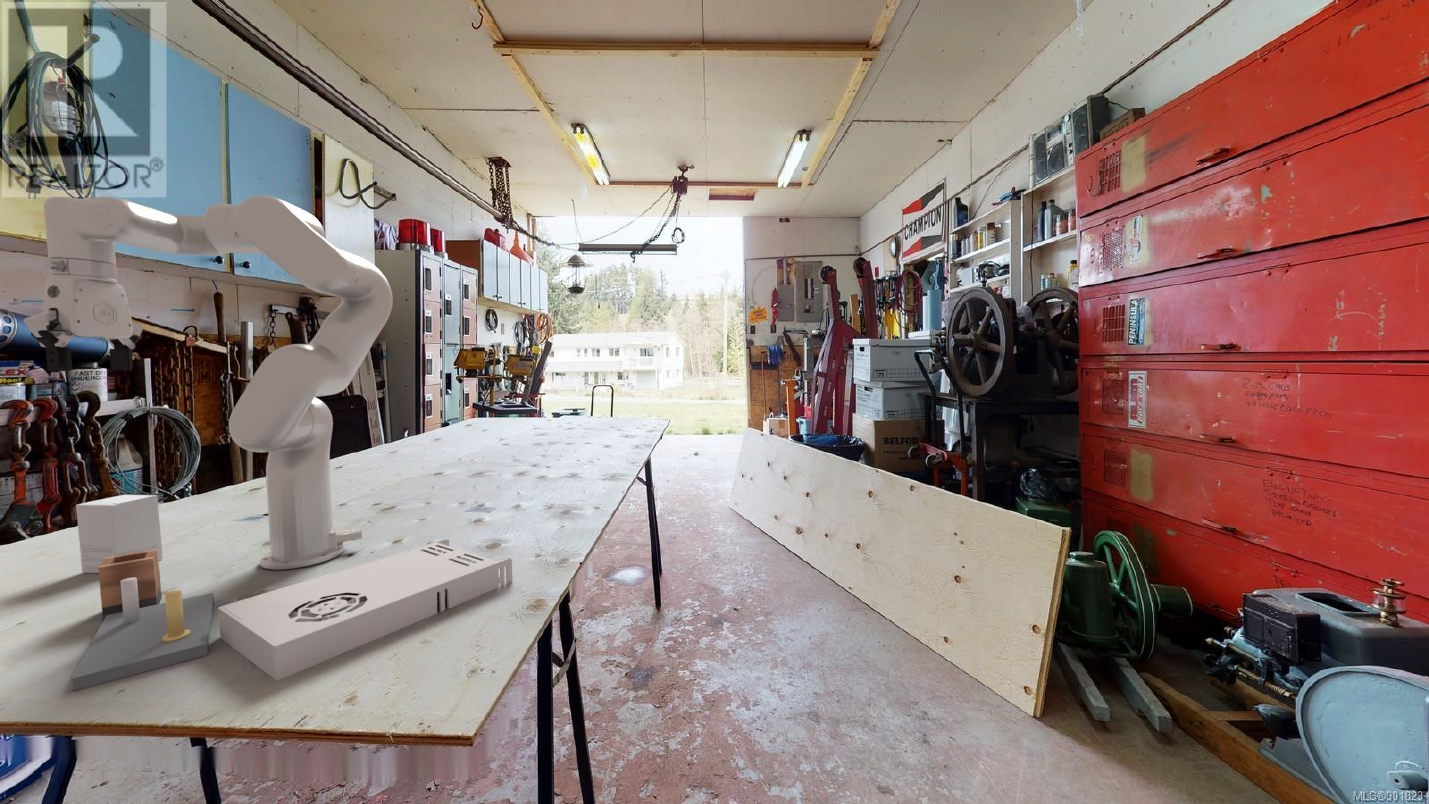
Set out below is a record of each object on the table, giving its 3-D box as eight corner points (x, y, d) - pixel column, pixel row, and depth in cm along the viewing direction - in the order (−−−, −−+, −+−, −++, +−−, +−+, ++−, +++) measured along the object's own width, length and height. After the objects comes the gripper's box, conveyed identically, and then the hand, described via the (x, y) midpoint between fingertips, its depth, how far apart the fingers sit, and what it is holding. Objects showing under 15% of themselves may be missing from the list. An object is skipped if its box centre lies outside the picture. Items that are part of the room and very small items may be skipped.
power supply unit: (512, 585, 89) (512, 557, 89) (277, 687, 61) (274, 646, 61) (448, 563, 99) (447, 538, 98) (219, 642, 71) (217, 607, 70)
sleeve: (161, 597, 82) (157, 548, 82) (157, 609, 78) (153, 558, 78) (110, 608, 79) (105, 557, 78) (103, 621, 75) (98, 567, 74)
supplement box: (164, 559, 98) (159, 494, 98) (116, 575, 91) (110, 505, 90) (130, 557, 99) (125, 493, 98) (79, 573, 92) (73, 504, 91)
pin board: (214, 601, 81) (210, 555, 80) (207, 654, 66) (203, 598, 66) (107, 625, 74) (102, 574, 73) (72, 691, 59) (66, 628, 58)
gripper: (47, 263, 82) (57, 371, 83) (156, 281, 99) (163, 370, 100) (-5, 262, 81) (6, 371, 82) (114, 280, 98) (121, 370, 100)
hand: (92, 370), depth 91 cm, fingers open, 9 cm apart
